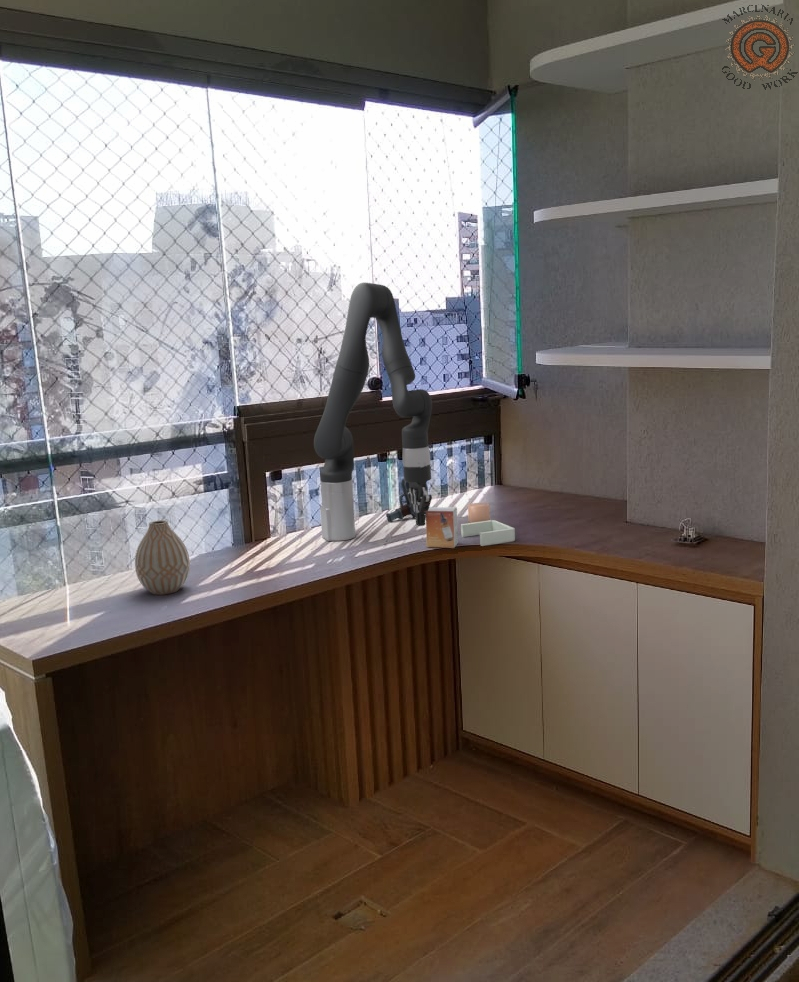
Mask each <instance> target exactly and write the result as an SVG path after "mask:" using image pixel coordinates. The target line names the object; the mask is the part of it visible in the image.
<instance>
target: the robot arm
mask: <svg viewBox="0 0 799 982" xmlns="http://www.w3.org/2000/svg"><path fill="white" fill-rule="evenodd" d="M350 295H351V296H350V299H349V303H348V310H347V317H346V322H345V327H344V334H343V337H342V341H341V346H340V349H339V354H338V357H337V360H336V363H335V368H334V372H333V375H332V380H331V384H330V387H329V392H328V394H327V400H326V403H325V407H324V410H323V414H322V417H321V419H320V421H319V425H318V426H317V429H316V431H315V434H314V438H313V448H314V451H315V453H316V454H317V456H318V457H320V458H321V459H324V465H323V467H322V469H320V473H319V476H320V494H321V505H320V506H319V507H320V509H319V510H320V511H319V512H320V523H321V524H320V525H321V536H322V537H321V538H323V539H325V541H327V542H332V541H334V542H337V541H339V542H341V541H348V540H350V539H354V538H356V525H355V522H356V520H355V509H354V508H355V507H354V506H355V505H354V490H353V471H354V469H355V468H354V466H355V458H354V457H355V456H354V439H353V435H352V432H351V431H350V430H349V428H348V427H347V426H346V425H347V420H348V417H349V415H350V413H351V411H352V410H353V408H354V406H355V404H356V403H357V401H358V399H359V397H360V396H361V394H362V392H363V390H364V387H365V385H366V380H367V377H368V374H369V369H370V358H369V357H370V356H369V352H368V346H367V343H366V341H367V340H366V339H367V332H368V326H369V324H370V321H371V318H372V319H373V318H374V319H375V320H376V322H377V323H378V325H379V328H380V331H381V334H382V347H381V349H382V351H381V357H382V362H383V366H384V369H385V371H386V374H387V376H388V379H389V380H390V389H391V390H390V391H391V401H392V407H393V410H394V412H395V413H396V414H397V416H399V417H400V418H411V417H412V420H411V423H409V424H407V425H406V426H404V427H402V429H401V441H402V471H403V478H404V481H406V482H409V487H410V488H409V489H408V490H406V494H407V497H408V500H409V503H410V506H411V508H412V509H414V512H415V517H416V518H415V517H414V518H415V525H416V526H418V527H422V526H426V514H425V512H426V511H428V509H429V507H431V506H430V505H431V503H432V500H433V495H432V494H429V491H428V486H427V485H428V484H427V482H429V481H431V479H432V469H431V468H432V466H431V454H430V448H429V434H428V433H429V432H428V431H429V426H430V421H431V416H432V410H433V401H432V397H431V395H430V393H429V392H428V391H427V390H426V389H421V388H420V389H411V390H409V389H408V387H407V386H409V384H411V383H412V382H414V381H415V379H416V372H415V370H414V368H413V364H412V362H411V360H410V356H409V354H408V352H407V349H406V346H405V342H404V339H403V335H402V331H401V326H400V321H399V316H398V311H397V308H396V307H397V306H396V303H395V298H394V295H393V293H392V290H391V289H390V288H389V287H387V286H386V285H384V284H381V283H380V284H379V283H371V282H360V283H358V284H357V285H356V286H355V287H354V289H353V291H352V293H351V294H350Z"/></svg>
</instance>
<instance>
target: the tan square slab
mask: <svg viewBox="0 0 799 982" xmlns="http://www.w3.org/2000/svg"><path fill="white" fill-rule="evenodd" d="M490 508H491V507H490V503H487V502H473V503H469V504H468V505H467V515H468V519H467V520H468V523H474V522H481V521H488V520H491V512H490V510H491V509H490Z"/></svg>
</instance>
